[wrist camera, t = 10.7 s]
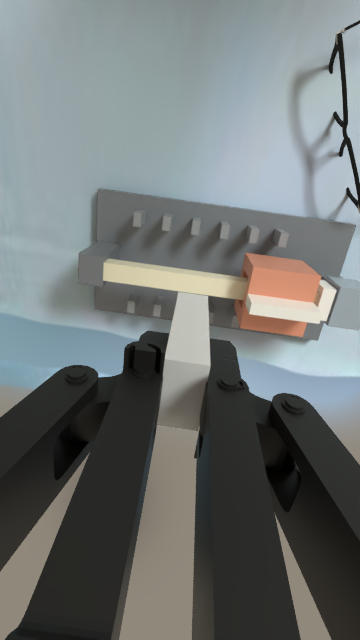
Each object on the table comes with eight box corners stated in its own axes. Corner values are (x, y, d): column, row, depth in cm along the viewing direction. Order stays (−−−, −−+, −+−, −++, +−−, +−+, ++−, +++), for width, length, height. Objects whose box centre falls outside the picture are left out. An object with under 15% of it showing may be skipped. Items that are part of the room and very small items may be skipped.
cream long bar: (93, 281, 35) (82, 291, 32) (94, 243, 34) (83, 250, 30) (343, 316, 35) (358, 330, 32) (356, 280, 34) (373, 291, 30)
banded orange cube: (234, 305, 37) (243, 340, 29) (245, 252, 34) (258, 274, 27) (287, 313, 37) (310, 349, 29) (302, 260, 34) (332, 284, 27)
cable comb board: (97, 305, 42) (75, 332, 35) (100, 188, 36) (75, 191, 29) (314, 336, 42) (338, 369, 35) (351, 223, 36) (389, 235, 29)
